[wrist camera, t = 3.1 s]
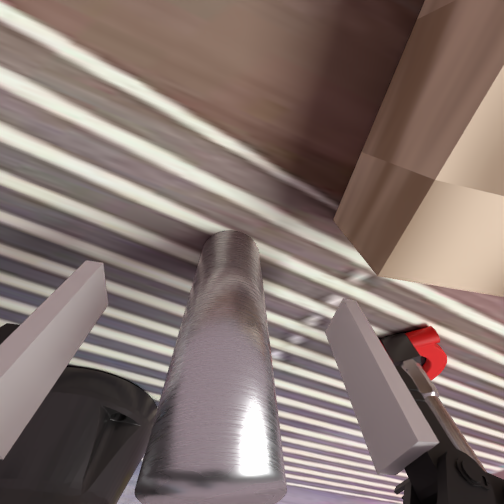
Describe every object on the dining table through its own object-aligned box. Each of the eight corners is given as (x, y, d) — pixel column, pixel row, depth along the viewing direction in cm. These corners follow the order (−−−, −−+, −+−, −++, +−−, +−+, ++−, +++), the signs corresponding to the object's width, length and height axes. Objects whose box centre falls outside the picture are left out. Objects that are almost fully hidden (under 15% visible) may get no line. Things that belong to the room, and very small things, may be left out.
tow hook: (438, 370, 26) (440, 317, 21) (582, 572, 15) (655, 560, 10) (359, 390, 27) (343, 345, 22) (438, 585, 16) (441, 580, 12)
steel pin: (198, 275, 17) (136, 516, 7) (205, 225, 15) (132, 461, 5) (252, 283, 18) (266, 517, 8) (265, 236, 16) (307, 468, 6)
